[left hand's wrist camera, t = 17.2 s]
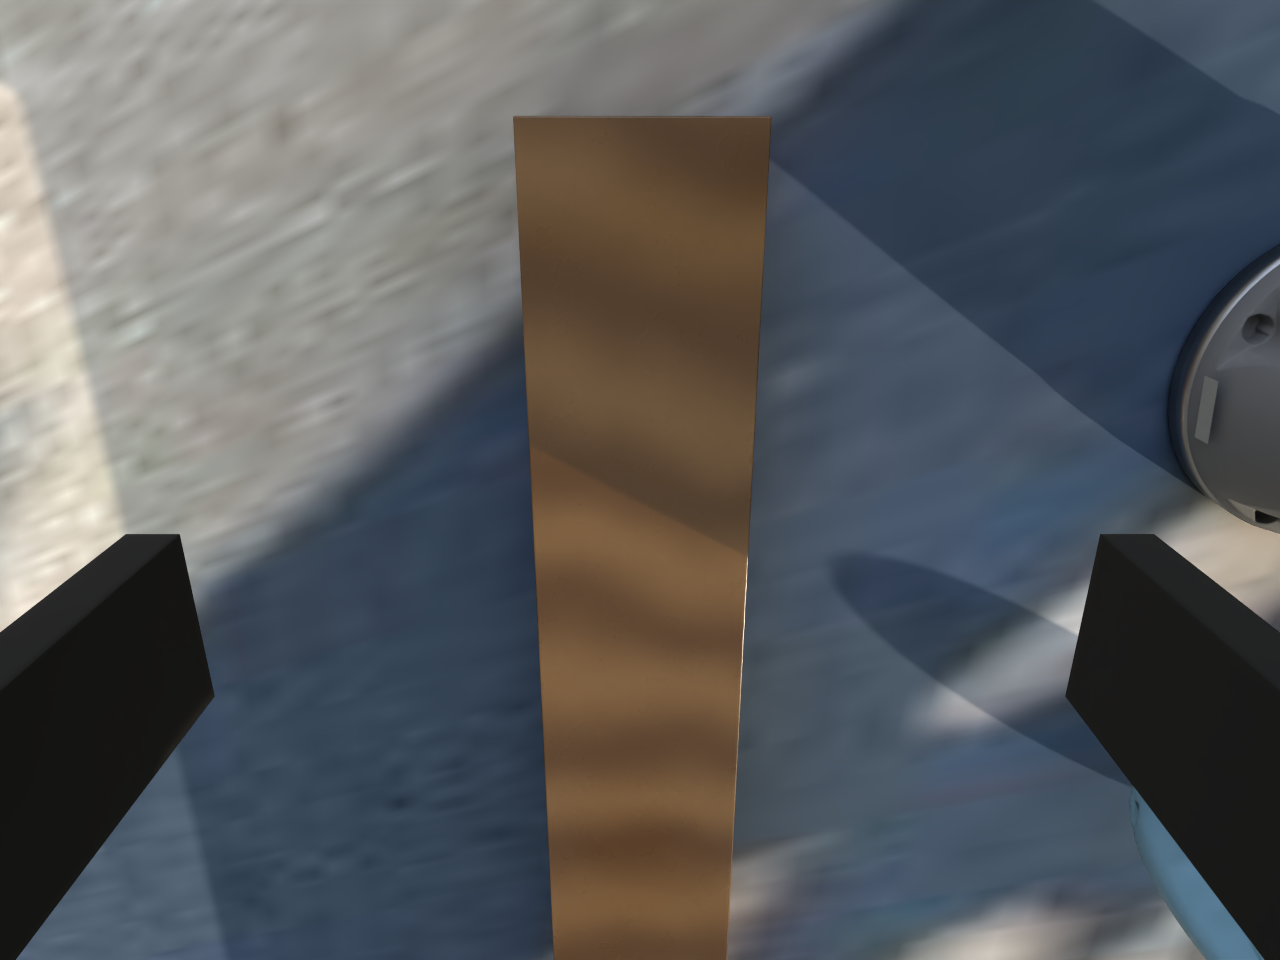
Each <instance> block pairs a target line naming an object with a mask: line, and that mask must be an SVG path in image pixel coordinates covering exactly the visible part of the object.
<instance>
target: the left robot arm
mask: <svg viewBox="0 0 1280 960" xmlns="http://www.w3.org/2000/svg"><path fill="white" fill-rule="evenodd" d="M1168 416H1169V429H1170V435H1171V440H1172V444H1173V447H1174V451H1175V454H1176V456H1177V458H1178V461H1179V463H1180V465H1181V467H1182V468H1183V470H1184V472H1185V474H1186V475H1187V476H1188V478H1189V479H1190V480H1191V482H1192V483H1193V484H1194V485H1195V486H1196V487H1197V488H1198V489H1199V490H1200V491H1201V492H1202V493H1203V494H1204V495H1205V496H1206V497H1208V498H1209V499H1210V500H1211V501H1213V502H1214V503H1216V504H1217V505H1219V506H1220V507H1222V508H1224V509H1225V510H1227V511H1228V512H1230V513H1231V514H1233V515H1235V516H1236V517H1238V518H1239V519H1241V520H1243V521H1245V522H1248V523H1250V524H1252V525H1254V526H1257V527H1260V528H1263V529H1266V530H1269V531H1272V532H1275V533H1280V244H1279V245H1277V246H1276V247H1274V248H1272V249H1271V250H1269V251H1268V252H1266V253H1265V254H1263V255H1262V256H1260V257H1259V258H1257V259H1256V260H1255V261H1253V262H1252V263H1251V264H1250V265H1248V266H1247V267H1246V268H1244V269H1243V270H1242V271H1241V272H1240V273H1239V274H1238V275H1237V276H1235V277H1234V278H1233V279H1232V280H1231V281H1230V282H1229V283H1228V284H1227V285H1226V286H1225V287H1224V288H1223V289H1222V290H1221V291H1220V293H1219V294H1218V295H1217V296H1216V297H1215V298H1214V300H1213V301H1212V302H1211V303H1210V305H1209V306H1208V307H1207V308H1206V310H1205V311H1204V313H1203V314H1202V315H1201V317H1200V318H1199V320H1198V321H1197V323H1196V324H1195V326H1194V328H1193V330H1192V331H1191V333H1190V335H1189V337H1188V339H1187V341H1186V343H1185V345H1184V347H1183V349H1182V351H1181V354H1180V357H1179V359H1178V362H1177V365H1176V368H1175V371H1174V375H1173V379H1172V383H1171V389H1170V395H1169V408H1168ZM213 698H214V691H213V687H212V682H211V677H210V673H209V668H208V663H207V659H206V654H205V650H204V645H203V640H202V636H201V631H200V626H199V622H198V617H197V612H196V608H195V603H194V599H193V594H192V589H191V585H190V580H189V575H188V571H187V566H186V561H185V557H184V552H183V548H182V543H181V538H180V534H126V535H124V536H123V537H122V538H120V539H119V540H118V541H117V542H115V543H114V544H113V545H112V546H110V547H109V548H108V549H106V550H105V551H104V552H103V553H101V554H100V555H99V556H97V557H96V558H95V559H94V560H92V561H91V562H90V563H89V564H87V565H86V566H85V567H83V568H82V569H81V570H80V571H78V572H77V573H76V574H74V575H73V576H72V577H71V578H69V579H68V580H67V581H65V582H64V583H63V584H62V585H60V586H59V587H58V588H57V589H55V590H54V591H53V592H51V593H50V594H49V595H48V596H46V597H45V598H44V599H42V600H41V601H40V602H39V603H37V604H36V605H35V606H33V607H32V608H31V609H30V610H28V611H27V612H26V613H25V614H23V615H22V616H21V617H19V618H18V619H17V620H16V621H14V622H13V623H12V624H10V625H9V626H8V627H7V628H5V629H4V630H3V631H1V632H0V960H16V959H17V957H18V956H19V955H20V953H21V952H22V951H23V949H24V948H25V947H26V945H27V944H28V943H29V941H30V940H31V939H32V937H33V936H34V935H35V933H36V932H37V931H38V929H39V928H40V927H41V925H42V924H43V923H44V922H45V920H46V919H47V918H48V916H49V915H50V914H51V912H52V911H53V910H54V908H55V907H56V906H57V904H58V903H59V902H60V900H61V899H62V898H63V896H64V895H65V894H66V892H67V891H68V890H69V888H70V887H71V886H72V884H73V883H74V882H75V880H76V879H77V878H78V876H79V875H80V874H81V872H82V871H83V870H84V869H85V867H86V866H87V865H88V863H89V862H90V861H91V859H92V858H93V857H94V855H95V854H96V853H97V851H98V850H99V849H100V847H101V846H102V845H103V843H104V842H105V841H106V839H107V838H108V837H109V835H110V834H111V833H112V831H113V830H114V829H115V827H116V826H117V825H118V823H119V822H120V821H121V819H122V818H123V817H124V816H125V814H126V813H127V812H128V810H129V809H130V808H131V806H132V805H133V804H134V802H135V801H136V800H137V798H138V797H139V796H140V794H141V793H142V792H143V790H144V789H145V788H146V786H147V785H148V784H149V782H150V781H151V780H152V778H153V777H154V776H155V774H156V773H157V772H158V770H159V769H160V768H161V766H162V765H163V764H164V763H165V761H166V760H167V759H168V757H169V756H170V755H171V753H172V752H173V751H174V749H175V748H176V747H177V745H178V744H179V743H180V741H181V740H182V739H183V737H184V736H185V735H186V733H187V732H188V731H189V729H190V728H191V727H192V725H193V724H194V723H195V721H196V720H197V719H198V717H199V716H200V715H201V714H202V712H203V711H204V710H205V708H206V707H207V706H208V704H209V703H210V702H211V700H212V699H213ZM1066 698H1067V699H1068V700H1069V702H1070V703H1071V704H1072V706H1073V707H1074V708H1075V710H1076V711H1077V712H1078V714H1079V715H1080V716H1081V717H1082V719H1083V720H1084V721H1085V723H1086V724H1087V725H1088V727H1089V728H1090V729H1091V731H1092V732H1093V733H1094V735H1095V736H1096V737H1097V739H1098V740H1099V741H1100V743H1101V744H1102V745H1103V747H1104V748H1105V749H1106V751H1107V752H1108V753H1109V755H1110V756H1111V757H1112V759H1113V760H1114V761H1115V763H1116V764H1117V765H1118V767H1119V768H1120V769H1121V770H1122V772H1123V773H1124V774H1125V776H1126V777H1127V778H1128V780H1129V781H1130V782H1131V784H1132V785H1133V788H1132V791H1131V796H1130V820H1131V823H1132V826H1133V829H1134V836H1135V840H1136V845H1137V847H1138V850H1139V852H1140V855H1141V857H1142V859H1143V862H1144V864H1145V866H1146V868H1147V870H1148V872H1149V874H1150V876H1151V878H1152V880H1153V882H1154V884H1155V886H1156V887H1157V889H1158V891H1159V893H1160V894H1161V896H1162V897H1163V899H1164V901H1165V902H1166V904H1167V906H1168V907H1169V909H1170V911H1171V912H1172V914H1173V915H1174V917H1175V918H1176V920H1177V921H1178V923H1179V924H1180V926H1181V927H1182V928H1183V930H1184V931H1185V933H1186V934H1187V935H1188V937H1189V938H1190V940H1191V941H1192V942H1193V944H1194V945H1195V946H1196V948H1197V949H1198V950H1199V951H1200V953H1201V954H1202V955H1203V957H1204V958H1205V959H1206V960H1280V630H1279V631H1277V630H1276V629H1275V628H1273V627H1272V626H1271V625H1270V624H1268V623H1267V622H1266V621H1264V620H1263V619H1262V618H1261V617H1259V616H1258V615H1257V614H1255V613H1254V612H1253V611H1252V610H1250V609H1249V608H1248V607H1247V606H1245V605H1244V604H1243V603H1241V602H1240V601H1239V600H1238V599H1236V598H1235V597H1234V596H1232V595H1231V594H1230V593H1229V592H1227V591H1226V590H1225V589H1223V588H1222V587H1221V586H1220V585H1218V584H1217V583H1216V582H1215V581H1213V580H1212V579H1211V578H1209V577H1208V576H1207V575H1206V574H1204V573H1203V572H1202V571H1200V570H1199V569H1198V568H1197V567H1195V566H1194V565H1193V564H1191V563H1190V562H1189V561H1188V560H1186V559H1185V558H1184V557H1183V556H1181V555H1180V554H1179V553H1177V552H1176V551H1175V550H1174V549H1172V548H1171V547H1170V546H1168V545H1167V544H1166V543H1165V542H1163V541H1162V540H1161V539H1160V538H1158V537H1157V536H1156V535H1154V534H1100V538H1099V543H1098V548H1097V552H1096V557H1095V561H1094V566H1093V571H1092V575H1091V580H1090V585H1089V589H1088V594H1087V599H1086V603H1085V608H1084V612H1083V617H1082V622H1081V626H1080V631H1079V636H1078V640H1077V645H1076V649H1075V654H1074V659H1073V663H1072V668H1071V673H1070V677H1069V682H1068V687H1067V691H1066Z"/></svg>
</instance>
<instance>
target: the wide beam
mask: <svg viewBox="0 0 1280 960" xmlns="http://www.w3.org/2000/svg"><path fill="white" fill-rule="evenodd" d="M513 122H514V143H515V164H516V184H517V205H518V226H519V246H520V267H521V288H522V309H523V329H524V350H525V371H526V391H527V412H528V433H529V453H530V474H531V495H532V516H533V536H534V557H535V578H536V598H537V619H538V640H539V660H540V681H541V702H542V723H543V743H544V764H545V785H546V805H547V826H548V847H549V867H550V888H551V909H552V930H553V950H554V960H727V945H728V926H729V907H730V888H731V869H732V851H733V832H734V813H735V794H736V775H737V756H738V737H739V718H740V699H741V681H742V662H743V643H744V624H745V605H746V586H747V567H748V548H749V529H750V511H751V492H752V473H753V454H754V435H755V416H756V397H757V378H758V359H759V341H760V322H761V303H762V284H763V265H764V246H765V227H766V208H767V189H768V171H769V152H770V133H771V117H770V116H514V117H513Z"/></svg>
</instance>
